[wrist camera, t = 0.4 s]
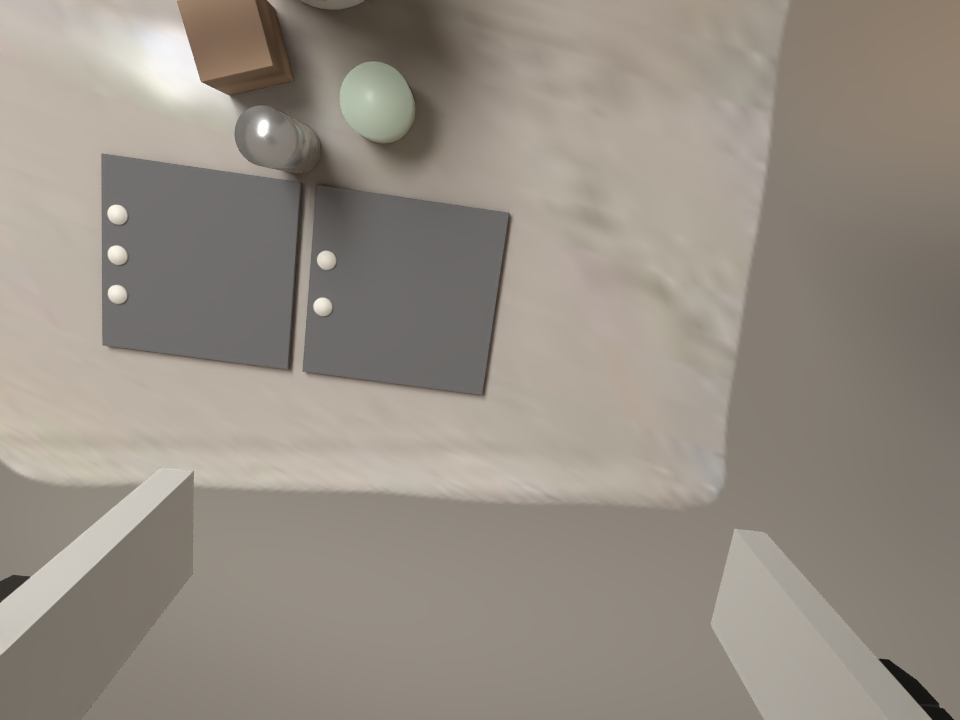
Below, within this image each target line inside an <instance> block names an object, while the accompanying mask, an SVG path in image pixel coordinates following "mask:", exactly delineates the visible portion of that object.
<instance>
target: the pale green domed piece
mask: <svg viewBox="0 0 960 720" xmlns="http://www.w3.org/2000/svg"><path fill="white" fill-rule="evenodd" d="M339 102H340V108H341V111H342V114H343V116H344V118H345V120H346V121H347V123H348V124H349V125H350V126H351V127H352V128H353V129H354V130H355V131H356V132H358V133H359V134H361V135H362V136H364V137H365V138H367V139H369V140H370V141H373V142H376V143H383V144H384V143H392V142H395V141H397V140H399V139H401V138H402V137H403V136H404V135H406V134H407V132H408V131H409V130H410V128H411V127H412V124H413V122H414V119H415V112H416V107H415V101H414V97H413V95H412V93H411V90H410V89H409V87H408V85H407V83H406V81H405V79H404V78H403V76H402V75H401V74H400V73H399V72H398V71H397V70H396V69H395V68H393V67H392V66H390V65H388V64H385V63H382V62H375V61H372V62H365V63H362V64H360V65H358V66H356V67H355V68H353V69H352V70H351V71H350V72H349V73H348V74H347V75H346V77H345V79H344V80H343V83H342V85H341V89H340V94H339Z"/></svg>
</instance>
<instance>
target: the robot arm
mask: <svg viewBox="0 0 960 720" xmlns="http://www.w3.org/2000/svg"><path fill="white" fill-rule="evenodd" d="M193 490H194V471H188V470H179V469H169V468H160V469H159V470H157V471H156V472H155V473H154V474H153V475H151V476H150V477H149V478H148V479H147V480H145V481H144V482H143V483H142V484H141V485H140V486H138V487H137V488H136V489H135V490H134V491H132V492H131V493H130V494H129V495H128V496H127V497H125V498H124V499H123V500H122V501H121V502H119V503H118V504H117V505H116V506H115V507H113V508H112V509H111V510H110V511H109V512H108V513H106V514H105V515H104V516H103V517H102V518H101V519H99V520H98V521H97V522H96V523H94V524H93V525H92V526H91V527H90V528H89V529H87V530H86V531H85V532H84V533H83V534H81V535H80V536H79V537H78V538H77V539H75V540H74V541H73V542H72V543H71V544H70V545H68V546H67V547H66V548H65V549H64V550H62V551H61V552H60V553H59V554H58V555H56V556H55V557H54V558H53V559H52V560H51V561H49V562H48V563H47V564H46V565H45V566H43V567H42V568H41V569H40V570H39V571H37V572H36V573H35V574H34V575H33V576H32V577H28V576H19V575H12V576H10V577H8V578H6V579H4V580H2V581H0V720H82V718H83V717H84V716H85V714H86V713H87V712H88V711H89V709H90V708H91V707H92V705H93V704H94V703H95V701H96V700H97V699H98V697H99V696H100V695H101V693H102V692H103V691H104V689H105V688H106V687H107V685H108V684H109V683H110V681H111V680H112V679H113V678H114V676H115V675H116V674H117V672H118V671H119V670H120V668H121V667H122V666H123V664H124V663H125V662H126V661H127V659H128V658H129V657H130V655H131V654H132V653H133V651H134V650H135V649H136V647H137V646H138V645H139V643H140V642H141V641H142V639H143V638H144V637H145V636H146V634H147V633H148V631H149V630H150V629H151V628H152V626H153V625H154V624H155V622H156V621H157V619H158V618H159V617H160V616H161V614H162V613H163V612H164V610H165V609H166V608H167V607H168V605H169V604H170V603H171V601H172V600H173V599H174V597H175V596H176V595H177V593H178V592H179V591H180V589H181V588H182V587H183V585H184V584H185V583H186V582H187V580H188V579H189V578H190V576H191V575H192V574H193V492H194V491H193ZM711 627H712V629H713V630H714V632H715V634H716V636H717V637H718V639H719V641H720V643H721V645H722V646H723V648H724V650H725V652H726V653H727V655H728V657H729V659H730V660H731V662H732V664H733V666H734V667H735V669H736V671H737V673H738V675H739V676H740V678H741V680H742V682H743V683H744V685H745V687H746V688H747V690H748V692H749V694H750V696H751V698H752V699H753V701H754V703H755V705H756V706H757V708H758V710H759V712H760V713H761V715H762V717H763V719H764V720H954V719H953V718H952V717H951V716H950V715H949V714H948V713H947V712H946V711H945V710H944V709H943V708H940V707H939V703H938V702H937V701H936V700H935V699H934V698H933V697H932V696H931V695H930V694H929V693H928V691H927V690H926V689H925V688H924V687H923V686H922V685H921V684H920V683H919V682H918V681H917V680H916V679H915V678H913V677H912V676H910V675H909V674H908V673H906V672H905V671H904V670H902V669H901V668H899V667H898V666H897V665H895V664H894V663H892V662H891V661H890V660H887V659H878V658H877V657H876V656H875V655H874V654H873V653H872V652H871V651H870V649H869V648H868V647H867V646H866V645H865V644H864V643H863V642H862V640H861V639H860V638H859V637H858V636H857V635H856V634H855V633H854V632H853V630H852V629H851V628H850V627H849V626H848V625H847V624H846V623H845V621H844V620H843V619H842V618H841V617H840V616H839V615H838V614H837V613H836V611H835V610H834V609H833V608H832V607H831V606H830V605H829V603H828V602H827V601H826V600H825V599H824V598H823V597H822V596H821V595H820V593H819V592H818V591H817V590H816V589H815V588H814V587H813V586H812V584H810V582H809V581H808V580H807V579H806V578H805V577H804V575H802V573H801V572H800V571H799V570H798V569H797V568H796V566H794V564H793V563H792V562H791V561H790V560H789V559H788V557H787V556H786V555H785V554H784V553H783V552H782V551H781V550H780V548H779V547H778V546H777V545H776V544H775V543H774V542H773V541H772V540H771V538H770V537H769V536H768V535H767V534H766V533H765V532H757V531H749V530H740V529H735V530H734V534H733V538H732V542H731V545H730V550H729V553H728V557H727V561H726V566H725V570H724V573H723V577H722V581H721V585H720V590H719V593H718V597H717V601H716V605H715V609H714V613H713V617H712V621H711Z"/></svg>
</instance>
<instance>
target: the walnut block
mask: <svg viewBox="0 0 960 720" xmlns="http://www.w3.org/2000/svg"><path fill="white" fill-rule="evenodd" d="M177 3H178V6H179V10H180V13H181V16H182V20H183V23H184V26H185V30H186V33H187V36H188V40H189V43H190V46H191V50H192V53H193V56H194V60H195V63H196V67H197V70H198V73H199V77H200V80H201V82H202V83H205V84H207V85H209V86H211V87H213V88H215V89H217V90H219V91H221V92H223V93H225V94H227V95H233V94H238V93H242V92H246V91H251V90H255V89H259V88H264V87H268V86H273V85H277V84H281V83H286V82H290V81H293V77H292V73H291V69H290V66H289V62H288V58H287V54H286V50H285V47H284V43H283V39H282V35H281V32H280V28H279V24H278V20H277V16H276V13H275V9H274V7H273V6H272V5H271V4H270V3H269V2H268V1H267V0H179V1H177Z"/></svg>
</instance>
